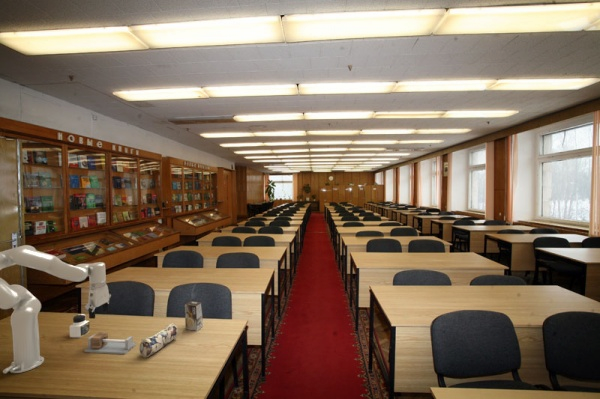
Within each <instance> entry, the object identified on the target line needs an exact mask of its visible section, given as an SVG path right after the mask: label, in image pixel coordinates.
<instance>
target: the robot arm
mask: <svg viewBox="0 0 600 399" xmlns="http://www.w3.org/2000/svg"><path fill="white" fill-rule="evenodd" d="M15 265H18V266H23V267H27V268H30V269H35V270H38V271H42V272H45V273H47V274H49V275H52V276H54V277H57V278H59V279H63V280H65V281H66V280H67V281H71V282H78V283H79V282H83V281H85V280H86V279H87V278H89V279H88V280H89V287H88V289H89V291H88V298H87V299H88V302H87V303H86V304H85V305H84V308H85V310H86V311H87V313H88V319H96V311H95V309H96V308H98V307H100V306H101V307H102V311H103V312H108V311H109V310H110V309H109V304H110V300H111V297H112V294H111V293H109V292H110V291H109V286H108V284H107V276H106V273H107V272H106V263H105V262H102V261H99V262H92V263H79V264H76V265H72V264H69V263H67V262H64V261H62V260H61V259H60V258H59V257H58V256H55V255H54V254H49V253H46V252H43V251H39V250H37V249H36V248H35V247H34V246H32V245H30V244H29V245H28V244H26V245H25V244H24V245H20V246H17V247H13V248H9V249H6V250H2V251H0V271H1V270H2V269H5V268H9V267H12V266H15ZM11 308H12V309H13V312H12V313H11V315H10V326H11V331H12V333H11V334H12V347H13V348H12V349H13V361H11V364H10V365H9V366H8V367H5V369H3V370H2V373H3V374H7V373H8V372H10V373H11V374H19V373H25V372H28V371H30V370H33V369H35V368H37V367H39V366H40V365H42V364H43V363H44V362H45V358H44V356H41V352H40V332H39V320H38V315H39V313H40V311H41V309H42V303H41V301H40V300H39V299H38V298H37V297H36V296H34V295H33V293H31V291H29V290H28V289H27V288H26V287H24V286H22V285H20V284H9V283H8V282H7V281H6V280H5V279H3V278H2V277H0V309H1V310H9V309H11Z"/></svg>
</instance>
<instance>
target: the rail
mask: <svg viewBox="0 0 600 399" xmlns="http://www.w3.org/2000/svg"><path fill="white" fill-rule="evenodd" d="M95 335H96V334H92V335H91V336H89V337H87V348H85V349H84V350H83V351H84V353H92V354H111V355H113V354H114V355H126V354H127V353H128V352H130V351H131V350H132V349H133V348H134V347H136V346H137V343H134V336H128V337H127V338H126V339H116V338H115V339H114V338H113V339H112V338H111V339H110V338H108V339H102V342H108V343H107V344H106V345H104V346H103V347H102V348H100V349H96V348H91V337H93V336H95Z"/></svg>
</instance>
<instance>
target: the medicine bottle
mask: <svg viewBox="0 0 600 399" xmlns="http://www.w3.org/2000/svg"><path fill="white" fill-rule="evenodd" d="M86 319H87V318H86V314H84V313H81V314H76V315H75V316H74V317H72V324H71V325H69V327H68V328H69V338H83V337H84V336H86V335H87V334H88V333H90V329H91V328H90V320H86Z"/></svg>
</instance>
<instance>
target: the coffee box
mask: <svg viewBox="0 0 600 399" xmlns="http://www.w3.org/2000/svg"><path fill="white" fill-rule="evenodd" d="M184 318H185V322H184V323H185V324H184V325H185V330H191V331H197V332H198V331H199V330H200V329H202V328H203V327H204V326H203V324H204V323H203V322H204V321H203V302H201V301H193V300H190V301H188V302H187V303H185V304H184Z"/></svg>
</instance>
